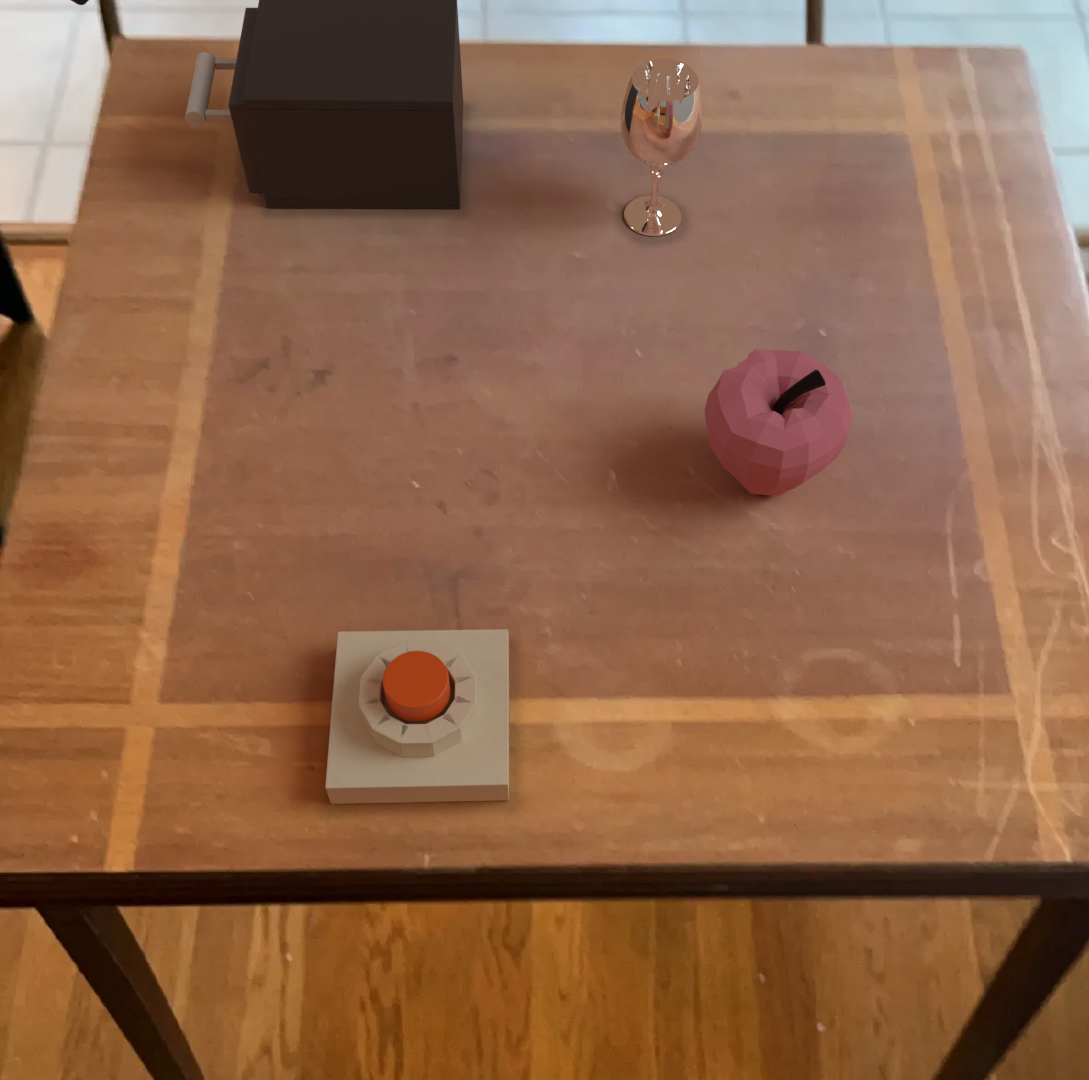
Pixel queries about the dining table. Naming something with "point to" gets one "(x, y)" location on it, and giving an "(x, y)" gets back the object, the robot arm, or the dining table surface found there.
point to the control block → (427, 746)
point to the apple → (777, 420)
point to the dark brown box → (356, 103)
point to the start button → (416, 686)
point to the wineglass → (660, 134)
